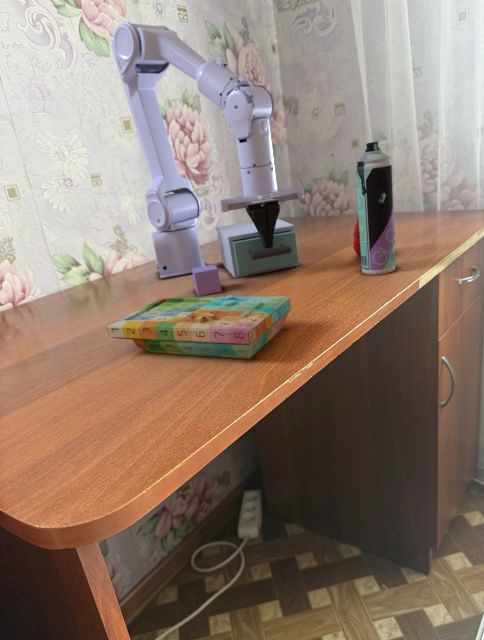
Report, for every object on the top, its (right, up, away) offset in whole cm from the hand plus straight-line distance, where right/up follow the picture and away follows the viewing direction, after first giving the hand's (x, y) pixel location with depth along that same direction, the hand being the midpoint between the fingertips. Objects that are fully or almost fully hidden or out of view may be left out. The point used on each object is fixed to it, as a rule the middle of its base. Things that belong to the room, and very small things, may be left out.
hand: (268, 247), depth 89 cm
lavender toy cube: (-10, -8, -2) cm, 13 cm away
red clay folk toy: (+20, -1, +5) cm, 21 cm away
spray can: (+18, -5, -5) cm, 20 cm away
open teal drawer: (-1, -2, +7) cm, 7 cm away
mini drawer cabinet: (-2, -1, +12) cm, 12 cm away
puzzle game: (-8, -17, -25) cm, 31 cm away
